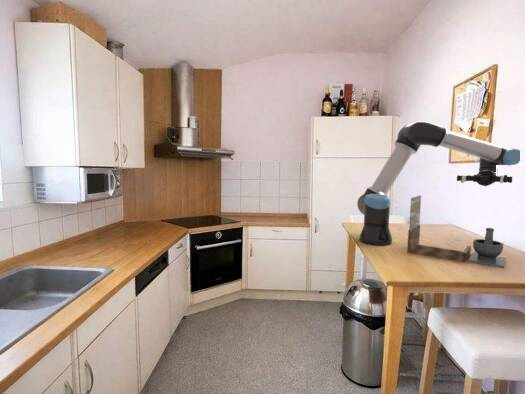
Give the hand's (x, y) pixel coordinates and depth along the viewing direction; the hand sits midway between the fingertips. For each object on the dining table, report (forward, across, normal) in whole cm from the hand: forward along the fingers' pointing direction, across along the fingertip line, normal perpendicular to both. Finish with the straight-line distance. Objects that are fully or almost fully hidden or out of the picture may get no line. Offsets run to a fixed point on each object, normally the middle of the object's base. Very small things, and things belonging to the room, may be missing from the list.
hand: (481, 179), depth 129 cm
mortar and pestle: (+14, -5, -31) cm, 34 cm away
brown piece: (+14, +12, -32) cm, 37 cm away
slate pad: (+14, -5, -32) cm, 35 cm away
